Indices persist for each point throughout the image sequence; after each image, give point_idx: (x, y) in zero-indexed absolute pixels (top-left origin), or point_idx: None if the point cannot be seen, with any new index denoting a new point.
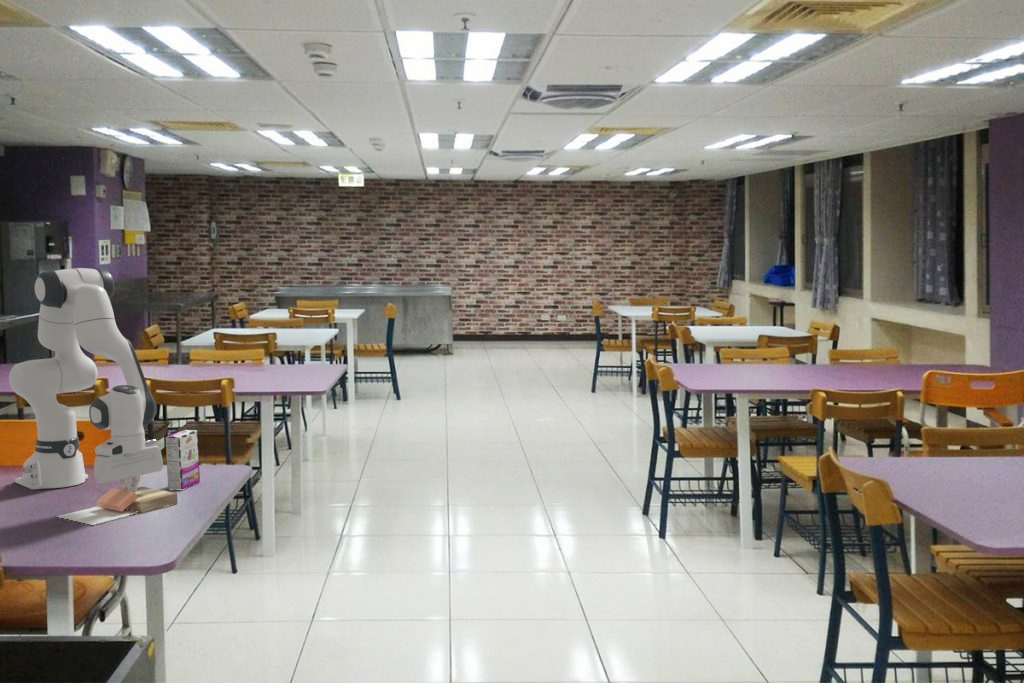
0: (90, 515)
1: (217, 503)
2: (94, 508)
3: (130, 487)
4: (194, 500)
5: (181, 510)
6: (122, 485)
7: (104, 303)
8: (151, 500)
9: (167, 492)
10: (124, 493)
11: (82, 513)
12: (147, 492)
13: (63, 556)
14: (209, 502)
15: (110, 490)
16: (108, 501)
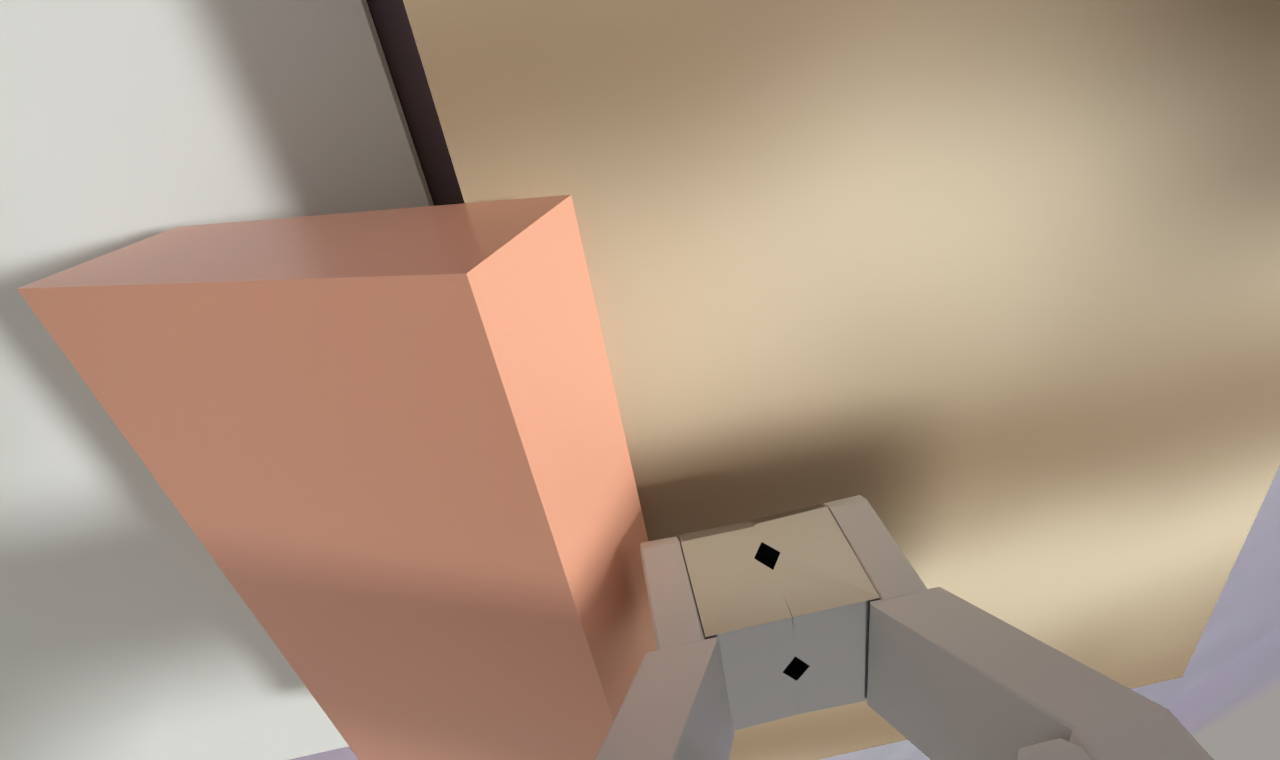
0: (4, 496)
1: (1206, 722)
2: (105, 85)
3: (746, 724)
4: (1258, 554)
5: (911, 751)
6: (621, 707)
7: None
8: (797, 756)
9: (1192, 583)
10: (544, 732)
11: None
12: (1097, 401)
13: None
14: (1220, 674)
15: (378, 322)
16: (263, 577)
